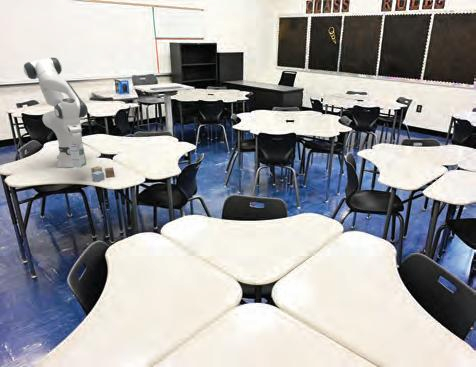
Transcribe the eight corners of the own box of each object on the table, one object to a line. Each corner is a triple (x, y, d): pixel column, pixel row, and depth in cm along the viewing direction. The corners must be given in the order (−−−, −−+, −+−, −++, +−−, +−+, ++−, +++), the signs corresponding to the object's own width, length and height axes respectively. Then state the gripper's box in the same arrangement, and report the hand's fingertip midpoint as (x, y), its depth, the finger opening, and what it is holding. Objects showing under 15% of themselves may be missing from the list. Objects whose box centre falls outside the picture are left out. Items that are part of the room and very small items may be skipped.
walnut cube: (105, 175, 228) (104, 168, 227) (113, 174, 230) (112, 167, 229) (106, 178, 224) (105, 170, 222) (114, 176, 226) (113, 169, 224)
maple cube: (92, 174, 230) (90, 167, 228) (99, 172, 234) (98, 165, 232) (95, 176, 227) (94, 169, 225) (103, 174, 231) (101, 167, 229)
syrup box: (81, 167, 217) (77, 145, 212) (72, 167, 218) (68, 144, 213) (86, 164, 222) (83, 142, 217) (78, 164, 223) (74, 142, 218)
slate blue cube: (92, 180, 220) (91, 173, 218) (98, 178, 224) (97, 170, 222) (98, 182, 218) (97, 174, 216) (104, 179, 222) (103, 172, 220)
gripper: (64, 123, 217) (68, 145, 222) (70, 130, 201) (74, 153, 207) (75, 122, 220) (78, 144, 225) (82, 129, 205) (85, 151, 210)
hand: (76, 148), depth 216 cm, fingers closed on syrup box, 8 cm apart
